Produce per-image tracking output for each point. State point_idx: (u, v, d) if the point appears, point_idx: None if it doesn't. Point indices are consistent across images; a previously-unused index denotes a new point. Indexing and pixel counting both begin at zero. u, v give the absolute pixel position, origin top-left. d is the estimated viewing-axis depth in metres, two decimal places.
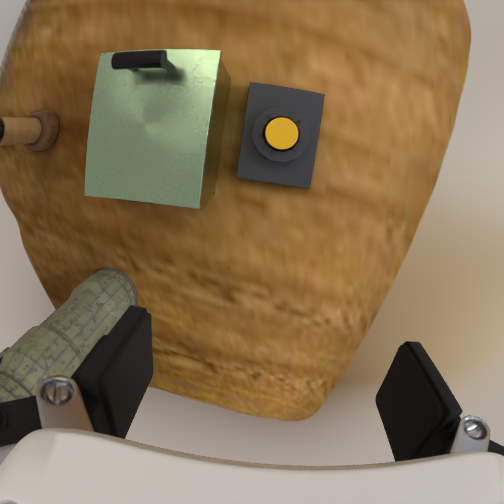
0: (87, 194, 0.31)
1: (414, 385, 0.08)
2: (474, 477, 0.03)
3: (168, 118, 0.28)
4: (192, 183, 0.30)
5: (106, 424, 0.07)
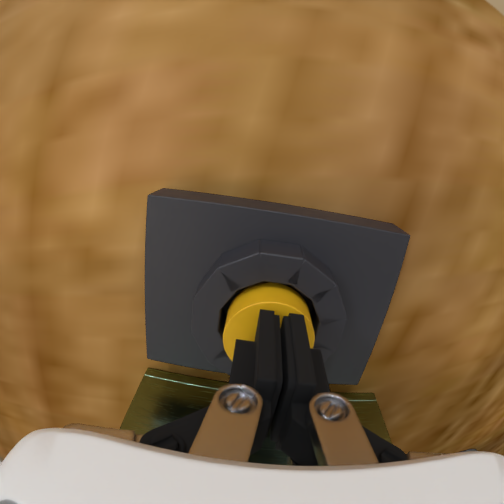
0: None
1: (283, 355, 0.10)
2: (474, 477, 0.03)
3: None
4: None
5: None
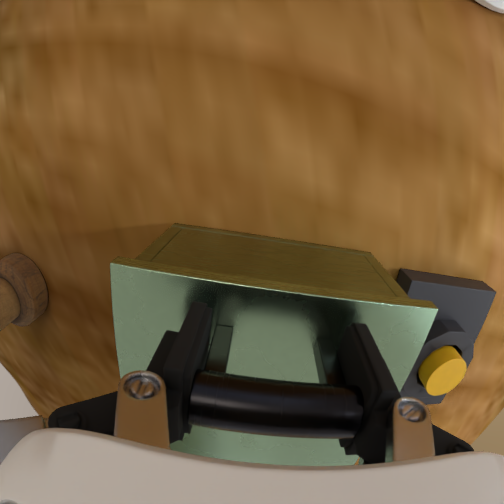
0: None
1: (354, 364, 0.09)
2: (474, 477, 0.03)
3: None
4: None
5: (181, 415, 0.08)
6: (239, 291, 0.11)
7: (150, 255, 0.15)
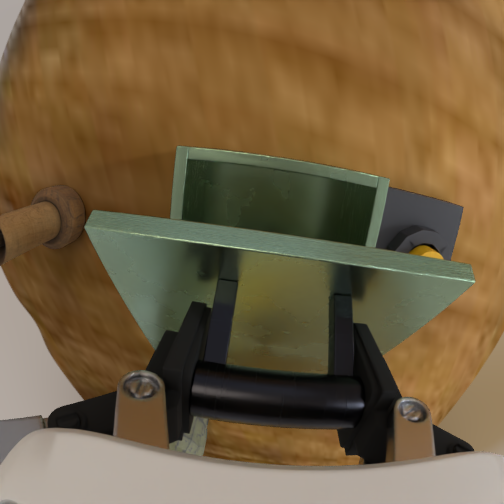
0: None
1: (355, 364, 0.09)
2: (474, 477, 0.03)
3: (315, 347, 0.15)
4: None
5: (181, 414, 0.08)
6: (242, 255, 0.09)
7: None
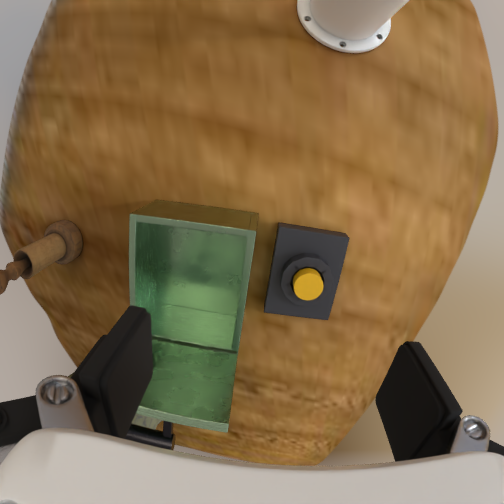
0: None
1: (414, 385, 0.08)
2: (474, 477, 0.03)
3: None
4: None
5: (106, 423, 0.07)
6: None
7: (142, 209, 0.34)
